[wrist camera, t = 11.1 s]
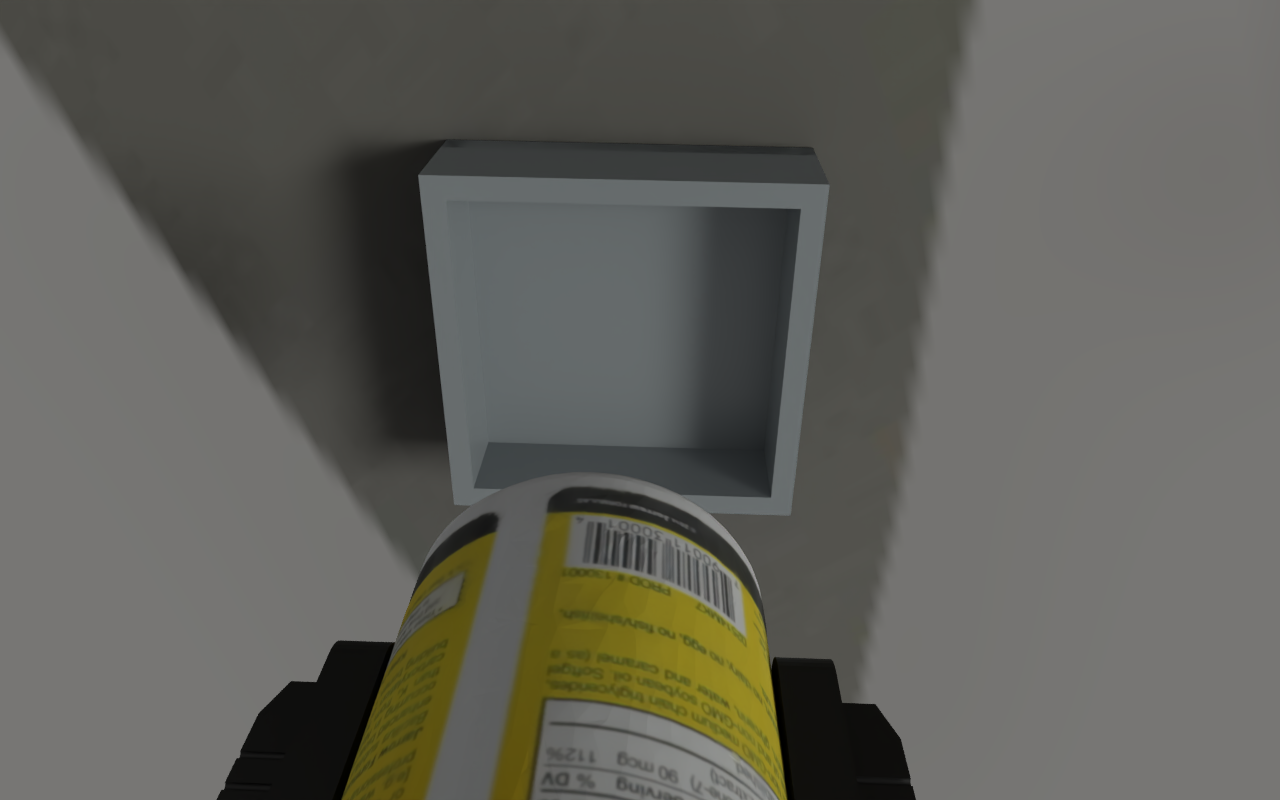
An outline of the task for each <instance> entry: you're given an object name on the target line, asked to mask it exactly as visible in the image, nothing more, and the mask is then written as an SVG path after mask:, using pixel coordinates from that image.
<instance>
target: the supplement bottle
mask: <svg viewBox="0 0 1280 800" xmlns="http://www.w3.org/2000/svg"><path fill="white" fill-rule="evenodd" d="M341 800H788V795H787V787H786V780H785V772H784V764H783V756H782V748H781V741H780V733H779V726H778V718H777V709H776V702H775V694H774V686H773V680H772V673H771V665H770V657H769V649H768V642H767V632H766V623H765V616H764V610H763V604H762V600H761V595H760V590H759V586H758V583H757V580H756V577H755V574H754V572H753V569H752V567H751V565H750V563H749V561H748V560H747V558H746V556H745V555H744V553H743V551H742V550H741V548H740V547H739V545H738V544H737V543H736V541H735V540H734V539H733V538H732V536H731V535H730V534H729V533H728V532H727V530H726V529H725V528H724V527H723V526H722V525H721V524H720V523H719V522H718V521H717V520H716V519H714V518H713V517H712V516H711V515H710V514H709V513H707V512H706V511H705V510H703V509H702V508H700V507H699V506H698V505H696V504H695V503H693V502H692V501H690V500H689V499H687V498H685V497H683V496H681V495H679V494H677V493H675V492H673V491H671V490H669V489H666V488H664V487H661V486H658V485H656V484H653V483H650V482H647V481H644V480H640V479H637V478H633V477H629V476H623V475H617V474H608V473H596V472H571V473H561V474H552V475H547V476H543V477H538V478H534V479H530V480H527V481H524V482H520V483H517V484H515V485H512V486H509V487H507V488H504V489H502V490H500V491H497V492H495V493H493V494H491V495H489V496H487V497H485V498H484V499H482V500H480V501H479V502H477V503H475V504H474V505H472V506H471V507H469V508H468V509H467V510H465V511H464V512H462V513H461V514H460V515H459V516H458V517H456V518H455V519H454V520H453V521H452V522H451V523H450V524H449V525H448V526H447V527H446V528H445V530H444V531H443V532H442V533H441V535H440V536H439V537H438V539H437V540H436V541H435V543H434V544H433V546H432V548H431V549H430V551H429V553H428V555H427V557H426V559H425V561H424V564H423V566H422V568H421V571H420V574H419V577H418V580H417V583H416V585H415V588H414V591H413V594H412V597H411V600H410V603H409V606H408V608H407V610H406V614H405V616H404V619H403V622H402V625H401V628H400V630H399V633H398V636H397V639H396V642H395V645H394V648H393V651H392V654H391V657H390V660H389V663H388V666H387V669H386V672H385V675H384V677H383V680H382V683H381V686H380V689H379V692H378V695H377V697H376V700H375V703H374V706H373V709H372V712H371V715H370V717H369V720H368V723H367V726H366V729H365V732H364V735H363V738H362V741H361V744H360V747H359V750H358V752H357V755H356V758H355V761H354V764H353V767H352V770H351V773H350V776H349V779H348V782H347V785H346V788H345V791H344V794H343V796H342V799H341Z"/></svg>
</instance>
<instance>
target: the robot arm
mask: <svg viewBox="0 0 1280 800" xmlns="http://www.w3.org/2000/svg"><path fill="white" fill-rule="evenodd" d="M394 645H395V642H393V643H392V642H366V641H337V642H336V643H335V644H334V645H333V647H332V648H331V650H330V652H329V655H328V657H327V659H326V662H325V664H324V666H323V668H322V671H321V673H320V675H319V677H318V680H317V682H295V681H291V682H290V683H289V684H288V685H287V686H286V687H285V688H284V689H283V690H282V691H281V692H280V693H279V694H278V695H277V696H276V697H275V698H274V699H273V700H272V701H271V702H270V703H269V704H268V705H267V706H266V707H265V708H264V709H263V710H262V711H261V712H260V713H259V714H258V716H257V718H256V720H255V722H254V724H253V726H252V728H251V731H250V733H249V734H248V736H247V739H246V741H245V743H244V745H243V747H242V749H241V755H240V758H237V759H236V761H235V763H234V765H233V767H232V770H231V771H230V773H229V775H228V777H227V779H226V782H225V783H226V784H225V789H224V790H221V792H220V794H219V796H218V798H217V800H341V799H342V796H343V794H344V791H345V788H346V785H347V782H348V779H349V776H350V773H351V770H352V767H353V764H354V761H355V758H356V755H357V752H358V750H359V747H360V744H361V741H362V738H363V735H364V732H365V729H366V726H367V723H368V720H369V717H370V715H371V712H372V709H373V706H374V703H375V700H376V697H377V695H378V692H379V689H380V686H381V683H382V680H383V677H384V675H385V672H386V669H387V666H388V663H389V660H390V657H391V654H392V651H393V648H394ZM771 673H772V680H773V686H774V694H775V702H776V709H777V718H778V726H779V733H780V741H781V748H782V756H783V764H784V772H785V780H786V787H787V795H788V800H916V798H915V794H914V790H913V786H911V784H910V779H911V778H910V774H909V770H908V766H907V762H906V758H905V754H904V750H903V746H902V742H901V739H900V737H899V736H898V735H897V733H896V732H895V730H894V729H893V728H892V726H891V725H890V724H889V722H888V721H887V720H886V718H885V717H884V716H883V714H882V713H881V711H880V710H879V709H878V707H877V706H876V705H875V704H857V703H842V700H841V695H840V690H839V685H838V679H837V674H836V669H835V666H834V663H833V661H832V660H831V659H807V658H780V657H774V659H773V663H772V669H771Z"/></svg>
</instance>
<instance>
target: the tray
mask: <svg viewBox="0 0 1280 800" xmlns="http://www.w3.org/2000/svg"><path fill="white" fill-rule="evenodd" d="M418 178H419V187H420V196H421V205H422V214H423V223H424V233H425V242H426V251H427V260H428V269H429V278H430V287H431V296H432V306H433V315H434V324H435V333H436V342H437V351H438V360H439V369H440V379H441V388H442V397H443V406H444V415H445V424H446V433H447V442H448V452H449V461H450V470H451V479H452V488H453V497H454V505H474V504H475V503H477V502H479V501H480V500H482V499H484V498H485V497H487V496H489V495H491V494H493V493H495V492H497V491H500V490H502V489H504V488H507V487H509V486H512V485H515V484H517V483H520V482H524V481H527V480H530V479H534V478H538V477H543V476H547V475H552V474H561V473H571V472H596V473H608V474H617V475H623V476H629V477H633V478H637V479H640V480H644V481H647V482H650V483H653V484H656V485H658V486H661V487H664V488H666V489H669V490H671V491H673V492H675V493H677V494H679V495H681V496H683V497H685V498H687V499H689V500H690V501H692V502H693V503H695V504H696V505H698V506H699V507H700V508H702V509H703V510H705V511H706V512H707V513H727V514H758V515H791V507H792V498H793V490H794V481H795V473H796V464H797V456H798V448H799V439H800V431H801V422H802V414H803V405H804V397H805V388H806V380H807V372H808V363H809V355H810V346H811V338H812V329H813V321H814V312H815V304H816V296H817V287H818V279H819V270H820V262H821V253H822V245H823V236H824V228H825V220H826V211H827V203H828V194H829V186H830V184H829V182H828V180H827V178H826V176H825V173H824V171H823V169H822V167H821V165H820V162H819V160H818V158H817V156H816V154H815V151H814V149H813V148H797V147H752V146H707V145H663V144H618V143H573V142H528V141H484V140H446V141H445V142H444V144H443V145H442V146H441V147H440V149H439V150H438V151H437V152H436V154H435V155H434V156H433V157H432V159H431V160H430V161H429V162H428V163H427V165H426V166H425V167H424V168H423V170H422V171H421V172H420V173H419V175H418Z"/></svg>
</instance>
